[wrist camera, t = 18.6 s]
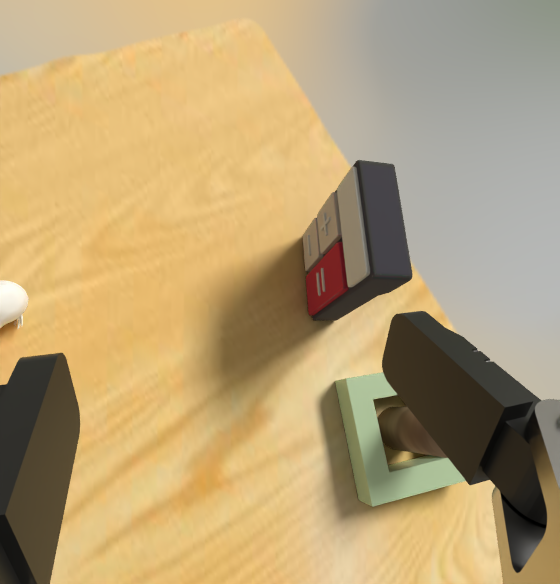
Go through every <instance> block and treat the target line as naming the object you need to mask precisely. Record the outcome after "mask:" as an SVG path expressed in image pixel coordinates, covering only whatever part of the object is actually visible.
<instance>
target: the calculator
mask: <svg viewBox="0 0 560 584" xmlns="http://www.w3.org/2000/svg"><path fill="white" fill-rule="evenodd" d="M303 248H304V261H305V271H309V274H308V275H307V276H306V287H307V299H308V312H309V315H312V318H313V320H338V319H340V318H341V317H343V316H345V315H346V314H348V313H350V312H351V311H353V310H355V309H356V308H358V307H360V306H361V305H363V304H365V303H366V302H368V301H370V300H371V299H373V298H375V297H376V296H378V295H382V294H385V293H389V292H391V291H393V290H394V289H396V288H398V287H400V286H401V285H403V284H405V283H407V282H408V281H410V280H411V279H412V269H411V263H410V257H409V251H408V245H407V239H406V233H405V227H404V220H403V215H402V208H401V202H400V197H399V190H398V185H397V178H396V173H395V167H394V165H393V164H387V163H379V162H370V161H362V160H358V161H356V163H355V164H354V165H353V167H352V168H351V169H350V170H349V172H348V173H347V175H346V176H345V177H344V179H343V180H342V182H341V183H340V185H339V186H338V188H337V190H336V191H335V192H333V193H331V195H330V196H329V198H328V199H327V201H326V202H325V204H324V205H323V207H322V208H321V209H320V211H319V212H318V214H317V218H314V220H313V221H312V223H311V224H310V225H309V227H308V228H307V230H306V231H305V233H304V234H303Z"/></svg>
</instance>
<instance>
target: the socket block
mask: <svg viewBox="0 0 560 584" xmlns="http://www.w3.org/2000/svg"><path fill="white" fill-rule="evenodd" d="M335 384H336V389H337V394H338V399H339V404H340V409H341V414H342V419H343V424H344V429H345V434H346V439H347V444H348V449H349V454H350V459H351V464H352V469H353V474H354V479H355V484H356V489H357V494H358V499H359V500H360V501H362V502H364V503H366V504H368V505H370V506H372V507H373V506H377V505H381V504H384V503H388V502H391V501H395V500H399V499H402V498H406V497H409V496H413V495H417V494H420V493H424V492H427V491H431V490H435V489H438V488H442V487H445V486H449V485H453V484H456V483H460V482H463V481H466V480H465V479H464V477H463V476H462V475H461V474H460V472H459V471H458V470H457V469H456V467H455V466H454V465H453V464H452V462H451V461H450V460H449V459H448V458H444V457H438V456H432V455H427V456H423V457H419V458H415V459H411V460H407V461H403V462H399V463H395V464H391V465H388V464H387V460H386V455H385V451H384V446H383V442H382V437H381V433H380V428H379V424H378V419H377V415H376V410H375V406H374V401H373V399H378V398H384V397H389V396H394V395H397V393H396V392H395V391H394V390H393V388H392V387H391V386H390V385H389V383H388V382H387V380H386V378H385V376H384V373H377V374H371V375H365V376H359V377H353V378H347V379H342V380H337V381H335Z"/></svg>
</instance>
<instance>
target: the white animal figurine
mask: <svg viewBox="0 0 560 584" xmlns="http://www.w3.org/2000/svg"><path fill="white" fill-rule="evenodd" d="M27 306H28V296H27V294H26V292H25V290H24V289H23V288H22V287H21V286H19V285H18V284H16V283H14V282H11V281H0V328H1V327H2V326H4V325H5V324H7V323H9V322H12V321H14V320H17V319H18V328H19V326H20V323H21V326H23V316H22V314H23V313H24V312H25V310H26V308H27ZM14 323H15V322H14ZM15 325H16V324H15ZM14 327H15V326H14Z"/></svg>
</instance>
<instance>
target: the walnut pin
mask: <svg viewBox="0 0 560 584" xmlns="http://www.w3.org/2000/svg"><path fill="white" fill-rule="evenodd" d="M378 424H379V428H380V433H381V437H382V442H383V443H384V444H385V445H386V446H388V447H389V448H392V449H396V450H402V451H408V452H414V453H420V454H426V455H432V456H438V457H444V458H448V457H447V456H446V455H445V454H444V452H443V451H442V450H441V449H440V447H439V446H438V445H437V444H436V442H435V441H434V440H433V439H432V437H431V436H430V435H429V434H428V432H427V431H426V430H425V429H424V427H423V426H422V425H421V423H420V422H419V421H418V420H417V418H416V417H415V416H414V415H413V413H412V412H411V411H410V410H409V408H408V407H390V408H387V409H386V410H384V411H383V412H382V413H381V415H380V416H379V418H378Z"/></svg>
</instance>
